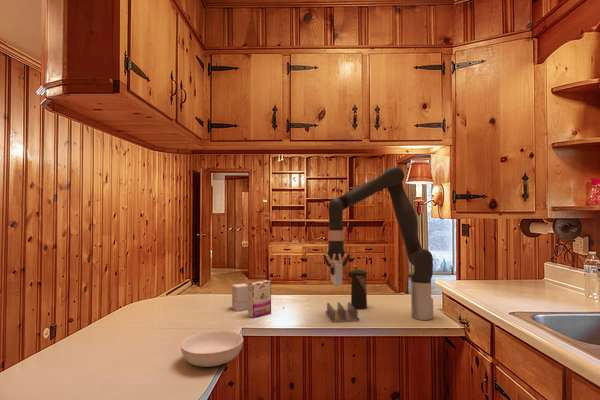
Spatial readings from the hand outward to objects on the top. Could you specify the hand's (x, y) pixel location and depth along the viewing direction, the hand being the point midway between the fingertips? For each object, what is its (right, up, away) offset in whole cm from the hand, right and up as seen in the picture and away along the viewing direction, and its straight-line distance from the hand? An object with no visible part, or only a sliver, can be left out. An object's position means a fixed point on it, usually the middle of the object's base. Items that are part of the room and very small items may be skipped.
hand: (336, 274), depth 168 cm
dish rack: (+3, -21, 0) cm, 21 cm away
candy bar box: (-38, -21, +3) cm, 44 cm away
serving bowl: (-48, -19, -49) cm, 71 cm away
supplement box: (-49, -21, +14) cm, 56 cm away
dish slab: (0, -4, 0) cm, 4 cm away
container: (+14, -21, +16) cm, 30 cm away
